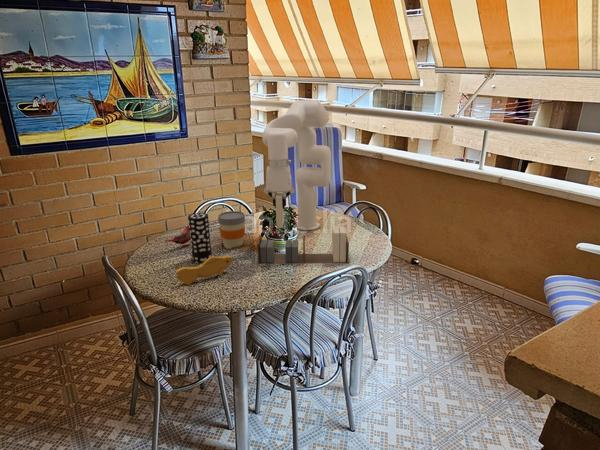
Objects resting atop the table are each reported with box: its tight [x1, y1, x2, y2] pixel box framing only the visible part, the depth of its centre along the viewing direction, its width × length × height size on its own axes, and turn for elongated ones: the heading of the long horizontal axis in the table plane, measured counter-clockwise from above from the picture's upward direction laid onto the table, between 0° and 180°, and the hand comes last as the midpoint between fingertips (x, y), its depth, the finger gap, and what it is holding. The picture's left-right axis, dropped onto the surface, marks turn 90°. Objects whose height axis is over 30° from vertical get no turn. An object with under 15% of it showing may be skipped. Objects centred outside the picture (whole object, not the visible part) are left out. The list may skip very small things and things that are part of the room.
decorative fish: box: [175, 254, 233, 285], centre depth 159 cm, size 22×3×10 cm, turn 118°
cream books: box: [331, 225, 347, 262], centre depth 171 cm, size 8×5×13 cm, turn 178°
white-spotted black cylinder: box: [187, 212, 213, 264], centre depth 175 cm, size 8×8×20 cm
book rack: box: [256, 233, 350, 265], centre depth 173 cm, size 10×38×10 cm, turn 88°
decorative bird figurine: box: [164, 224, 191, 248], centre depth 190 cm, size 3×18×10 cm, turn 140°
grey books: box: [260, 239, 299, 263], centre depth 173 cm, size 8×16×7 cm, turn 88°
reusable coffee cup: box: [217, 210, 246, 250], centre depth 190 cm, size 13×13×15 cm
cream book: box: [275, 192, 285, 229], centre depth 167 cm, size 8×2×13 cm, turn 177°
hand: (279, 207), depth 167 cm, fingers closed on cream book, 2 cm apart
